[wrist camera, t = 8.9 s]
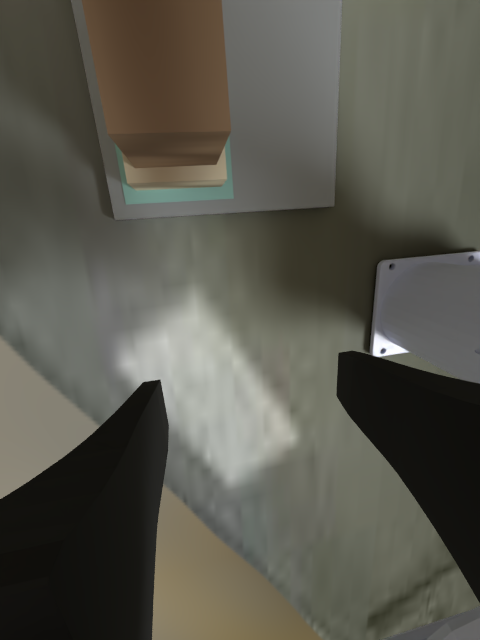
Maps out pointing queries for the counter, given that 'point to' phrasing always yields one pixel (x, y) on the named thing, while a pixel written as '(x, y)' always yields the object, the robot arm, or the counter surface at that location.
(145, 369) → the counter surface
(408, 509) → the counter surface
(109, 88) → the walnut block
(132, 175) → the base block
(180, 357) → the counter surface
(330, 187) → the board
